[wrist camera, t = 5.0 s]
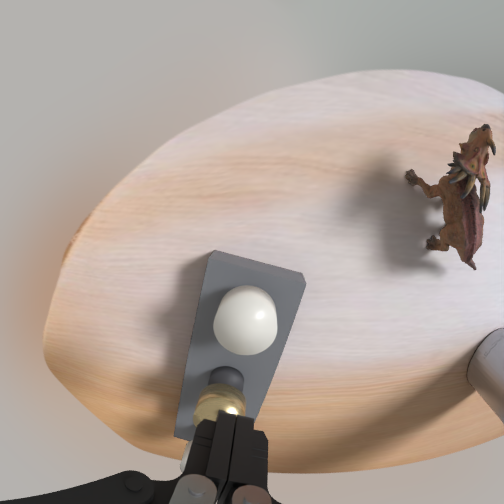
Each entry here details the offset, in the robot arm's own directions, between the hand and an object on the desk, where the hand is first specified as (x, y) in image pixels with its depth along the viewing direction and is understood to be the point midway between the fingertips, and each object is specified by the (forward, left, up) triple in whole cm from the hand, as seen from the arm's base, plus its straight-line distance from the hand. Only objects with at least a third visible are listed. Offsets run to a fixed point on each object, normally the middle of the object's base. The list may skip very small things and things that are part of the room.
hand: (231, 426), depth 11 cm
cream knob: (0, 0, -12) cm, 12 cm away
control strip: (-5, +6, -16) cm, 18 cm away
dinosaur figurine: (-4, -20, -17) cm, 26 cm away
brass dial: (-5, +6, -10) cm, 13 cm away
